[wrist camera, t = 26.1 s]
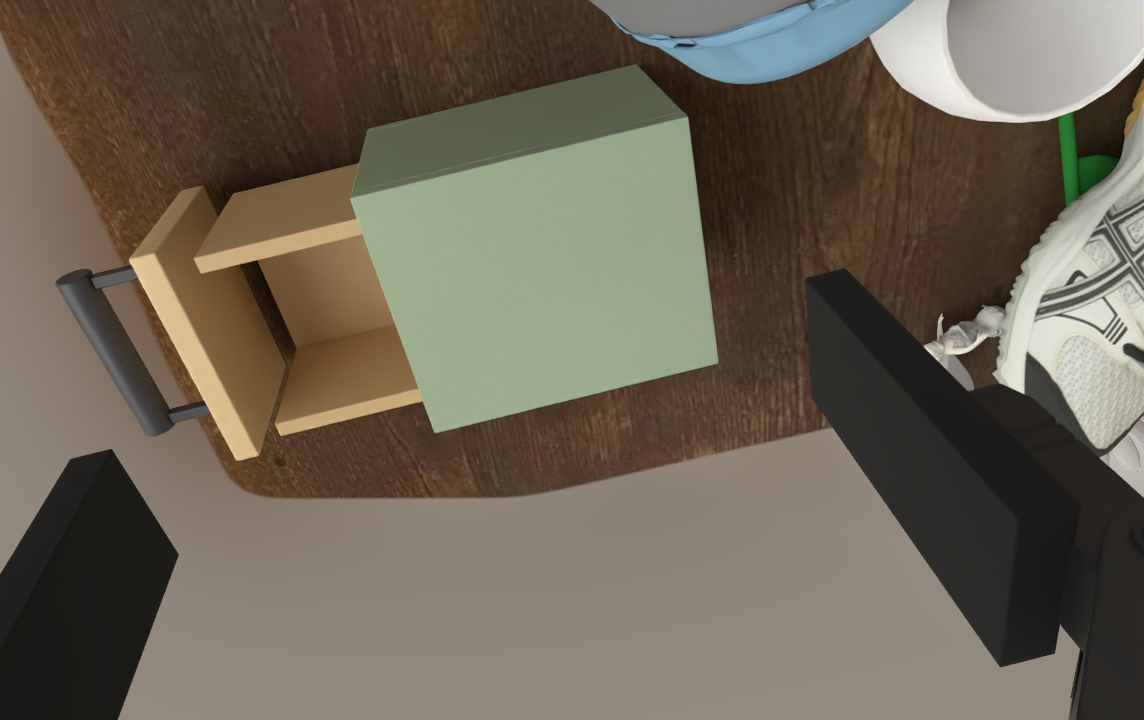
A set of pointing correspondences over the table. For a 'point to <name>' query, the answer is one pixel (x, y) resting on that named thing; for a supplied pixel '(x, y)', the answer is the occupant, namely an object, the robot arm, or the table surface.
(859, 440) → the robot arm
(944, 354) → the fairy figurine
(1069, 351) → the running shoe
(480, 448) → the table surface
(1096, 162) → the decorative flower
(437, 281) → the cabinet
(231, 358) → the drawer
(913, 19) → the cup
